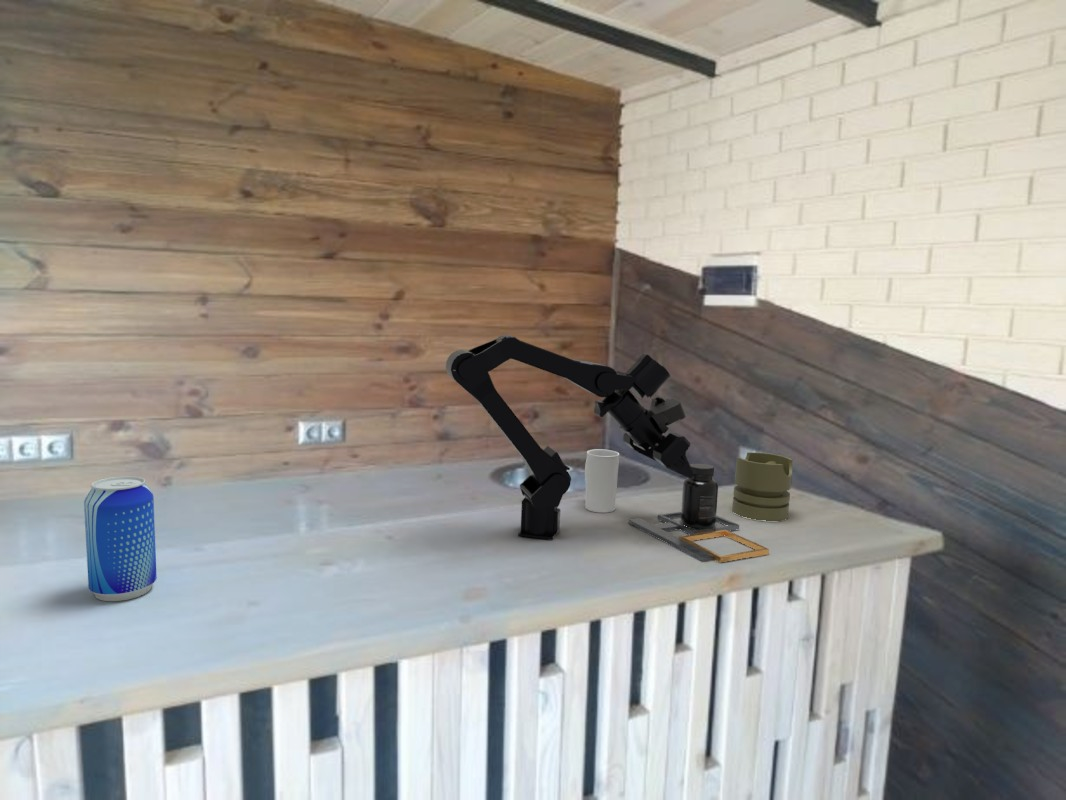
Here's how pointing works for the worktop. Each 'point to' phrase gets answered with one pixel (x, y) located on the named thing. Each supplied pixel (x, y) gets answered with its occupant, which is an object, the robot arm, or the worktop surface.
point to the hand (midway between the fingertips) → (680, 470)
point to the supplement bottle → (699, 498)
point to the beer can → (120, 538)
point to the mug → (601, 480)
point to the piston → (762, 486)
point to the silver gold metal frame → (698, 538)
